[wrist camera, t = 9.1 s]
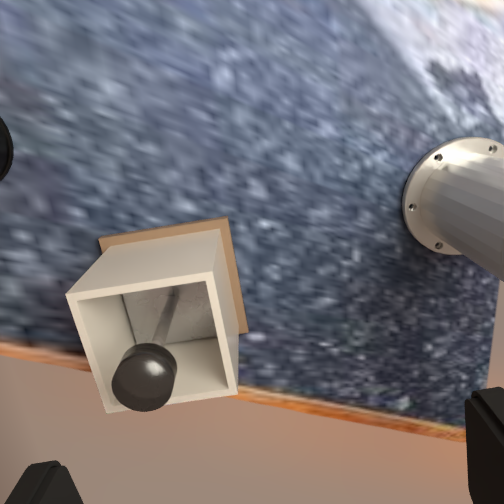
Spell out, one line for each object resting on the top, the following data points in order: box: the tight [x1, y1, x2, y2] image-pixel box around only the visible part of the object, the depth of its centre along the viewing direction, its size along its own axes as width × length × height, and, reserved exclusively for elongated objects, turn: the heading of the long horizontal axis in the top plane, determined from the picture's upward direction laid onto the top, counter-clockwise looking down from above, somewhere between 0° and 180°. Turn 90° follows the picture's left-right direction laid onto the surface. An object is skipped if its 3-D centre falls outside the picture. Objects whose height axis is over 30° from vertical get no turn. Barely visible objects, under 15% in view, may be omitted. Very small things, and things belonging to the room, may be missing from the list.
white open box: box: [65, 216, 248, 414], centre depth 41 cm, size 14×14×13 cm
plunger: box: [111, 281, 217, 412], centre depth 37 cm, size 10×10×15 cm
